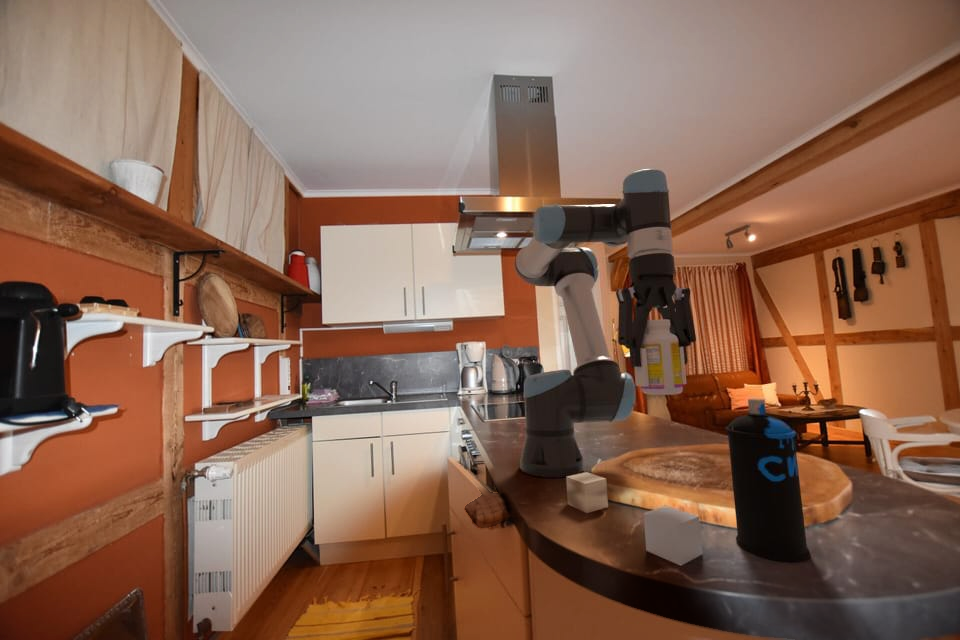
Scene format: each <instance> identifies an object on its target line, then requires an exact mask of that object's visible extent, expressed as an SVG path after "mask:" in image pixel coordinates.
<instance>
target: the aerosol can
mask: <svg viewBox="0 0 960 640" xmlns="http://www.w3.org/2000/svg"><path fill="white" fill-rule="evenodd" d="M747 404H748V413H746V414H745V415H742V416H739V417H736V418H735V419H733V420H732V421H731V422H729V424H728V425H727V426H725V428H724V429H725V431H726V432H727V439H728V450H729V451H728V452H729V458H730V460H729V461H730V469H731V479H732V488H733V492H732V493H733V500H734V510H735V520H736V521H735V522H736V532H737V535H736V536H735V541H736V543H737V545H738V546H739V547H741V548H742V549H743V550H744V551H747V552H749V553H750V554H752V555H755V556H757V557H761V558H763V559H767V560H773V561H776V562H777V561H778V562H786V563H787V562H788V563H794V562H795V563H797V562H802V561H805V560H807V559H809V558H810V556H811V552H810V549H809V547H808V545H807V537H806V536H807V535H806V529H805V528H806V527H805V518H804V511H803V510H804V509H803V502H802V501H803V500H802V492H801V482H800V475H799V474H800V473H799V465H798V457H797V456H798V455H797V449H796V448H797V447H796V446H797V445H796V439H795V436H797V431H796V430H795V429H793V428H791V426H790V425H789V424H787V423H786V422H785V421H783V420H782V419H779V418H777V417H773V416H771V415H769V414H768V413H767V410H766V401H765V399H763V398H748V399H747Z"/></svg>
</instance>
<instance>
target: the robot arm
mask: <svg viewBox="0 0 960 640" xmlns="http://www.w3.org/2000/svg"><path fill="white" fill-rule="evenodd" d="M621 193H622V194H623V196H622V198H621V200H619V202H617V203H616V204H574V205H573V204H551V205H543V206H542V205H541V206H539V207H538V208H536V210H535V212H534V217H533V236H532V238H531V239H530V241H529V242H528V244H527V245H525V246H524V247H522V248H520V250H519V251H518V252H517V254H516V257H515V259H514V269H515V272H516V273H517V275H518V277H519V278H520V279H522V280H523V281H524V282H526V283H527V284H530V285H532V286H536V287H553V288H554V292H555V293H556V294H557V295H558V296H559V297H560V298H562V302H563V303H562V304H563V307H564V312H565V316H566V321H567V325H568V329H569V334H570V337H571V343H572V347H573V352H574V356H575V357H574V358H575V361H576V365H577V366H576V367H575V368H574V369H573V374H572V372H571V371H570V369H559V370H550V371H545V372H540V373H539V372H538V373H536V374H535V373H534V374H532V375H531V374H530V375H529V376H527V377H526V378H524V380H523V381H524V382H523V399H524V400H523V401H524V402H523V403H524V420H525V421H524V422H525V440H524V443H523V447H522V451H521V456H520V460H519V464H520V467H519V469H520V470H522V471H521V472H523V473H524V472H525V473H524V474H526V473H527V474H526V475H529V474H530V475H529V476H533V475H534V476H535V477H539V476H541V478H566V477H567V476H572V475H576V474H581V473H583V472H582V471H584V470H585V462H584V457H583V455H582V453H581V450H580V447H579V444H578V441H577V440H576V439H577V438H576V436H575V424H579V423H580V424H582V423H583V424H584V423H601V422H602V423H603V422H606V423H607V422H609V423H613V422H616V421H617V422H618V421H624V420H627V419H628V418H629V417H630V416H631V415H632V413H633V411H634V408H635V403H636V387H641V386H644V387H647V386H649V378H648V366H647V353H646V348H641V349H640V347H641V346H642V342H643V337H644V333H645V329H646V325H647V321H649V320H648V319H649V315H650V312H651V311H652V309H656V310H657V312H658V313H659V314H660V315H661V318H662V319H668V320H670V325H671V326H670V328H669V330H670V333H672V334H674V335H675V336H676V337H677V338H678V344H679V355H680V365H681V375H682V385H687V377H686V376H687V373H686V365H688V352H687V347H691V345H692V343H696V341H697V335H696V330H695V326H694V319H693V313H692V307H691V303H690V299H691V289H690V288H689V287H685V288H681V287H678V286H677V285H676V284H675V281H674V276H675V274H676V269H675V268H676V267H675V257H674V255H673V254H672V252H673V251H674V246H673V235H672V233H673V232H672V224H671V223H672V221H671V209H670V196H669V193H670V190H669V189H668V183H667V176H666V174H665V172H664V171H663V170H662V169H661V170H660V169H657V168H647V169H645V168H644V169H640V170H637V171H633V172H632V173H630V174H628V175H627V176H626V177H625V178H624V180H623V182H622V192H621ZM571 243H575V244H576V243H602V244H604V245H606V246H608V247H613V248H615V247H620V246H622V245H625V244H626V246H627V247H626V248H627V257H628V258H629V261H628V270H629V272H628V273H629V278H630V280H631V283H630V286H629V287H624V288H621V289H618V290H616V292H615V296H616V298H617V302H618V329H617V330H618V331H617V332H618V333H617V334H618V335H617V343H618V344H619V346H624V347H625V349H627V350H628V352H629V361H630V366H631V367H632V368H633V369H634V377H635V378H634V379H633V376H632V375H631V374H630V373H628V372H625V371H623V372H622V371H621V368H620V365H619V363H618V362H617V361H616V360H614V359H613V358H612V359H611V355H610V352H609V348H608V345H607V341H606V337H605V334H604V330H603V326H602V324H601V321H600V320H601V319H600V316H599V313H598V308H597V306H596V302H595V297H594V295H593V292H592V291H593V290H592V289H594V286H595V283H596V282H597V281H598V278H599V268H598V266H599V264H598V263H599V262H598V260H597V257H596V255H595V252H593V250H592V249H590V248H588V247H580V246H573V247H568V245H570V244H571ZM633 298H634V299H635V306H634V307H633ZM633 308H634V309H633ZM633 311H634V312H635V313H633ZM633 315H634V317H633ZM634 380H635V381H634Z"/></svg>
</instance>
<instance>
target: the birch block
mask: <svg viewBox="0 0 960 640" xmlns="http://www.w3.org/2000/svg"><path fill="white" fill-rule="evenodd" d="M565 480H566V497H567V505H569V506H571V507H573V508H575V509H577V510H579V511H581V512H583V513H585V514H588V513H592V512H595V511H598V510H599V511H600V510H603V509H607V508H608V507H609V500H608V486H607V478H605V477H602V476H599V475H597V474H594V473H591V472H588V471H587V472H581V473H579V474H576V475H572V476H567V477H565Z"/></svg>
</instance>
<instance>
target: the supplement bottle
mask: <svg viewBox="0 0 960 640" xmlns="http://www.w3.org/2000/svg"><path fill="white" fill-rule="evenodd" d="M670 326H671V325H670V320H668V319H663V318H662V319H649V320H647V325H646V329H645V333H644V337H643V342H642V346H641V347H640V349H641V348H646V353H647V366H648V378H649V386H647V387H644V386H640V388H641V391H642V393H643V394H646V395H652V396H653V395H654V396H663V395H664V396H669V395H670V396H671V395H679V394H681V393H683V391H684V390H683V389H684V388H683V387H684V386H683V384H682V375H681V365H680V355H679V344H678V338H677V337H676V336H675V335H674V334H672V333H670V330H669V328H670Z"/></svg>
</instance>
